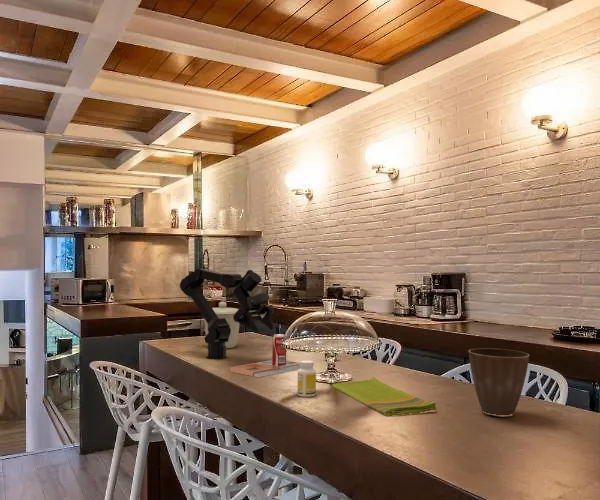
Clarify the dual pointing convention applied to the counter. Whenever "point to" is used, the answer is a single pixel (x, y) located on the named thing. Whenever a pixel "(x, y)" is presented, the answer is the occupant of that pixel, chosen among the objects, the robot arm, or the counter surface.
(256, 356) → the counter surface
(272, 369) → the socket rail
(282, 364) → the soda can
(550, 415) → the counter surface
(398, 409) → the dish towel
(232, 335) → the canister
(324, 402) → the counter surface
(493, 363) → the plant pot
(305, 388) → the supplement bottle
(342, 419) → the counter surface
